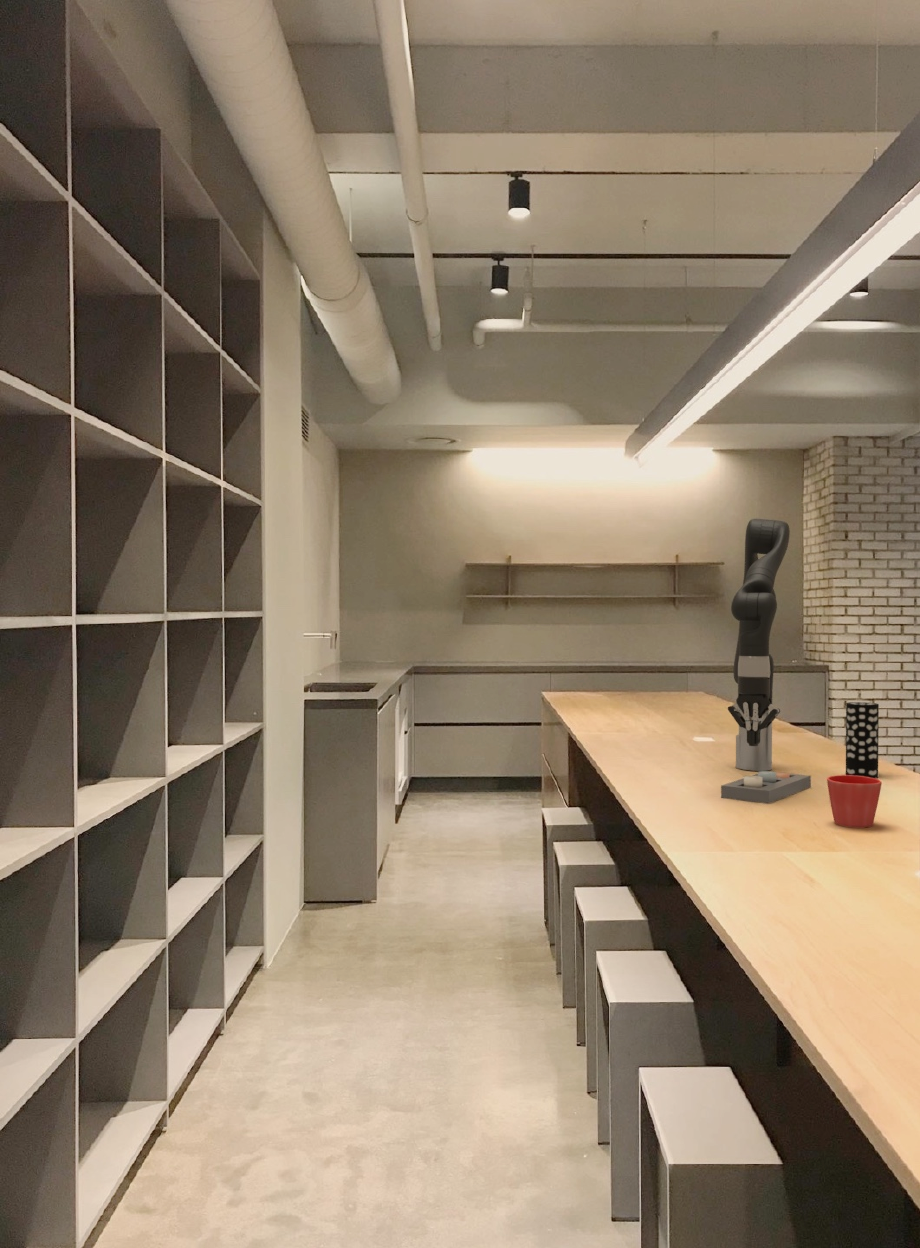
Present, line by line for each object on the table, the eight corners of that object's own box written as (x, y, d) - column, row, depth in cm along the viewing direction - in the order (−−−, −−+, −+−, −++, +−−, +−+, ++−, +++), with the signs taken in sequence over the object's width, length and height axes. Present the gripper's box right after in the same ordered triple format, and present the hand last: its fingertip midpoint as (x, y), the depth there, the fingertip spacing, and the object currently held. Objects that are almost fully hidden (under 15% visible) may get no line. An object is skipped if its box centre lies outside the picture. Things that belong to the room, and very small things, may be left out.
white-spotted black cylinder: (845, 777, 280) (845, 704, 280) (846, 773, 288) (846, 701, 287) (878, 779, 277) (878, 705, 276) (878, 775, 284) (878, 702, 284)
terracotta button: (768, 785, 264) (769, 774, 264) (775, 783, 268) (775, 771, 268) (785, 787, 262) (785, 775, 262) (792, 785, 265) (792, 773, 265)
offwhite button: (740, 789, 250) (740, 777, 250) (747, 787, 254) (747, 775, 254) (758, 791, 247) (758, 779, 247) (765, 789, 251) (765, 777, 251)
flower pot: (882, 831, 213) (882, 784, 213) (826, 827, 217) (826, 781, 217) (880, 821, 223) (880, 776, 223) (826, 817, 227) (827, 773, 227)
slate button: (755, 784, 257) (755, 772, 257) (762, 782, 261) (762, 770, 261) (772, 786, 254) (772, 774, 254) (778, 784, 258) (779, 772, 258)
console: (721, 797, 250) (721, 785, 250) (765, 782, 272) (765, 771, 272) (769, 803, 243) (769, 791, 243) (810, 787, 265) (810, 775, 265)
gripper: (721, 674, 251) (721, 745, 251) (774, 676, 243) (774, 749, 243) (734, 673, 257) (734, 742, 257) (786, 675, 249) (785, 746, 249)
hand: (753, 745), depth 250 cm, fingers closed
